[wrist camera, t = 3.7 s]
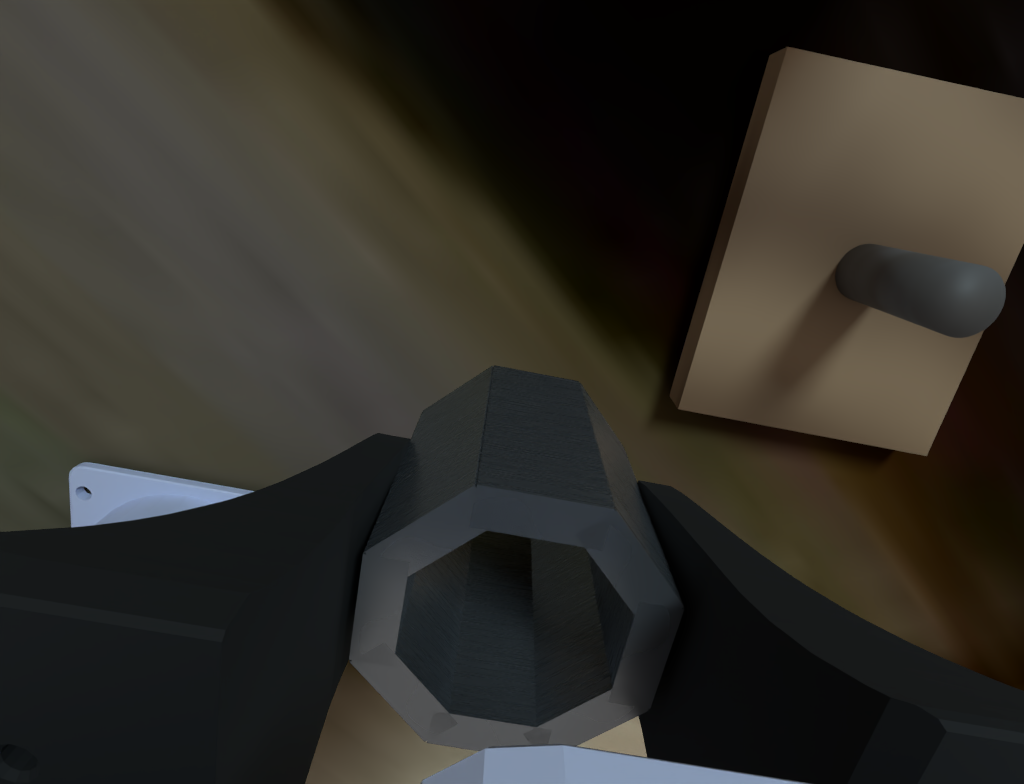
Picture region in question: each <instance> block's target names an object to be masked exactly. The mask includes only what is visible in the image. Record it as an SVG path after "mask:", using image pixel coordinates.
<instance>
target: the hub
mask: <svg viewBox="0 0 1024 784" xmlns="http://www.w3.org/2000/svg"><path fill="white" fill-rule="evenodd" d="M683 612H684V605H683V603H682V600H681V597H680V595H679V592H678V589H677V587H676V584H675V581H674V579H673V576H672V573H671V571H670V568H669V565H668V563H667V560H666V558H665V555H664V552H663V550H662V547H661V544H660V542H659V539H658V536H657V534H656V531H655V528H654V526H653V523H652V520H651V518H650V515H649V513H648V510H647V507H646V505H645V502H644V499H643V497H642V494H641V491H640V489H639V486H638V484H637V481H636V478H635V475H634V473H633V470H632V467H631V465H630V462H629V460H628V457H627V454H626V452H625V449H624V447H623V445H622V444H621V442H620V441H619V439H618V438H617V436H616V435H615V433H614V432H613V431H612V429H611V428H610V426H609V425H608V423H607V422H606V420H605V419H604V417H603V416H602V414H601V413H600V411H599V410H598V408H597V407H596V405H595V404H594V402H593V401H592V399H591V398H590V396H589V395H588V393H587V392H586V390H585V389H584V387H583V386H582V384H581V383H579V381H574V380H569V379H564V378H558V377H553V376H548V375H543V374H537V373H532V372H527V371H521V370H516V369H511V368H505V367H500V366H495V365H494V367H493V366H491V367H490V368H488V369H486V370H485V371H483V372H482V373H480V374H479V375H477V376H476V377H474V378H473V379H471V380H469V381H468V382H466V383H465V384H463V385H462V386H460V387H459V388H457V389H456V390H454V391H453V392H451V393H449V394H448V395H446V396H445V397H443V398H442V399H440V400H439V401H437V402H436V403H434V404H432V405H431V406H429V407H428V408H426V409H425V410H423V412H422V414H421V416H420V418H419V421H418V423H417V426H416V428H415V430H414V433H413V435H412V438H411V440H410V444H409V446H408V449H407V451H406V454H405V456H404V458H403V461H402V463H401V466H400V468H399V470H398V472H397V474H396V476H395V478H394V481H393V483H392V485H391V488H390V490H389V493H388V495H387V497H386V500H385V502H384V505H383V507H382V509H381V512H380V514H379V517H378V519H377V521H376V524H375V526H374V529H373V531H372V533H371V536H370V538H369V541H368V543H367V545H366V548H365V550H364V552H363V557H362V564H361V572H360V579H359V587H358V594H357V602H356V609H355V617H354V624H353V632H352V639H351V647H350V655H349V660H350V663H351V664H352V665H353V666H354V667H355V668H356V669H357V670H358V671H359V673H360V674H361V675H362V676H363V677H364V678H365V679H366V680H367V681H368V682H369V683H370V684H371V685H372V686H373V687H374V689H375V690H376V691H377V692H378V693H379V694H380V695H381V696H382V697H383V698H384V699H385V700H386V701H387V702H388V703H389V704H390V706H391V707H392V708H393V709H394V710H395V711H396V712H397V713H398V714H399V715H400V716H401V717H402V718H403V719H404V720H405V722H406V723H407V724H408V725H409V726H410V727H411V728H412V729H413V730H414V731H415V732H416V733H417V734H418V735H419V736H420V737H421V739H422V740H423V741H424V742H425V741H427V743H431V744H437V745H444V746H450V747H456V748H463V749H469V750H475V751H481V750H483V749H485V748H488V747H491V746H511V745H535V744H565V745H572V746H577V745H579V744H581V743H583V742H585V741H588V740H590V739H592V738H594V737H596V736H598V735H600V734H602V733H604V732H606V731H608V730H610V729H612V728H614V727H616V726H618V725H620V724H622V723H624V722H626V721H628V720H631V719H633V718H635V717H637V716H639V715H641V714H643V713H645V712H647V711H649V710H648V709H650V708H651V705H652V702H653V699H654V696H655V693H656V691H657V688H658V685H659V682H660V679H661V676H662V673H663V670H664V667H665V664H666V662H667V659H668V656H669V653H670V650H671V647H672V644H673V641H674V638H675V635H676V632H677V630H678V627H679V624H680V621H681V618H682V615H683Z"/></svg>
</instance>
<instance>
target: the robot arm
mask: <svg viewBox="0 0 1024 784" xmlns="http://www.w3.org/2000/svg"><path fill="white" fill-rule="evenodd" d="M410 440H411V439H407V438H402V437H396V436H391V435H385V434H380V433H377V434H375V435H373V436H371V437H369V438H367V439H365V440H363V441H362V442H360V443H358V444H356V445H354V446H353V447H351V448H349V449H347V450H345V451H344V452H342V453H340V454H338V455H336V456H334V457H332V458H330V459H329V460H327V461H325V462H323V463H321V464H319V465H317V466H314V467H312V468H310V469H308V470H306V471H303V472H301V473H299V474H297V475H295V476H292V477H290V478H288V479H286V480H284V481H281V482H279V483H276V484H274V485H271V486H268V487H266V488H263V489H260V490H257V491H250V490H244V489H238V488H233V487H227V486H221V485H216V484H210V483H204V482H198V481H193V480H187V479H181V478H176V477H170V476H164V475H159V474H153V473H147V472H141V471H136V470H130V469H124V468H119V467H113V466H107V465H101V464H96V463H90V462H83V463H81V464H79V465H77V466H76V467H74V468H73V469H72V470H71V471H70V473H69V491H70V512H71V527H70V528H55V529H41V530H26V531H11V532H0V784H305V781H306V778H307V775H308V772H309V769H310V765H311V762H312V759H313V756H314V753H315V750H316V747H317V744H318V740H319V737H320V734H321V731H322V728H323V725H324V722H325V719H326V715H327V712H328V709H329V706H330V704H331V701H332V698H333V696H334V693H335V691H336V688H337V685H338V683H339V680H340V678H341V676H342V673H343V671H344V669H345V667H346V664H347V662H348V660H349V655H350V647H351V639H352V632H353V624H354V617H355V609H356V602H357V594H358V587H359V579H360V572H361V564H362V557H363V552H364V550H365V548H366V545H367V543H368V541H369V538H370V536H371V533H372V531H373V529H374V526H375V524H376V521H377V519H378V517H379V514H380V512H381V509H382V507H383V505H384V502H385V500H386V497H387V495H388V493H389V490H390V488H391V485H392V483H393V481H394V478H395V476H396V474H397V472H398V470H399V468H400V466H401V463H402V461H403V458H404V456H405V454H406V451H407V449H408V446H409V444H410ZM637 484H638V486H639V489H640V491H641V494H642V497H643V499H644V502H645V505H646V507H647V510H648V513H649V515H650V518H651V520H652V523H653V526H654V528H655V531H656V534H657V536H658V539H659V542H660V544H661V547H662V550H663V552H664V555H665V558H666V560H667V563H668V565H669V568H670V571H671V573H672V576H673V579H674V581H675V584H676V587H677V589H678V592H679V595H680V597H681V600H682V603H683V605H684V612H683V615H682V618H681V621H680V624H679V627H678V630H677V632H676V635H675V638H674V641H673V644H672V647H671V650H670V653H669V656H668V659H667V662H666V664H665V667H664V670H663V673H662V676H661V679H660V682H659V685H658V688H657V691H656V693H655V696H654V699H653V702H652V705H651V708H650V709H648V710H649V711H647V712H645V713H643V714H641V715H639V719H640V723H641V728H642V732H643V737H644V742H645V747H646V753H647V757H641V756H635V755H628V754H622V753H616V752H609V751H603V750H597V749H591V748H584V747H578V746H572V745H565V744H535V745H511V746H491V747H488V748H485V749H483V750H481V751H479V752H477V753H475V754H473V755H471V756H469V757H467V758H465V759H463V760H461V761H460V762H458V763H456V764H454V765H452V766H450V767H448V768H446V769H444V770H442V771H440V772H438V773H436V774H434V775H432V776H430V777H428V778H426V779H424V780H422V782H421V784H1024V691H1022V690H1019V689H1016V688H1014V687H1011V686H1008V685H1005V684H1003V683H1000V682H998V681H995V680H993V679H991V678H988V677H986V676H984V675H981V674H979V673H977V672H974V671H972V670H969V669H967V668H965V667H962V666H960V665H958V664H955V663H953V662H951V661H948V660H946V659H944V658H941V657H939V656H937V655H935V654H933V653H931V652H928V651H926V650H924V649H922V648H920V647H918V646H915V645H913V644H911V643H909V642H907V641H905V640H903V639H901V638H899V637H897V636H895V635H893V634H891V633H889V632H887V631H886V630H884V629H882V628H880V627H878V626H876V625H874V624H872V623H870V622H868V621H866V620H864V619H862V618H861V617H859V616H857V615H855V614H853V613H851V612H850V611H848V610H846V609H844V608H842V607H841V606H839V605H838V604H836V603H834V602H833V601H831V600H829V599H828V598H826V597H824V596H823V595H821V594H819V593H818V592H816V591H814V590H813V589H811V588H809V587H808V586H806V585H805V584H803V583H802V582H800V581H799V580H797V579H795V578H794V577H792V576H791V575H789V574H788V573H787V572H785V571H784V570H782V569H781V568H779V567H778V566H777V565H775V564H774V563H772V562H771V561H770V560H768V559H767V558H765V557H764V556H763V555H761V554H760V553H758V552H757V551H756V550H754V549H753V548H752V547H750V546H749V545H748V544H746V543H745V542H744V541H743V540H741V539H740V538H739V537H737V536H736V535H735V534H734V533H732V532H731V531H730V530H728V529H727V528H726V527H725V526H723V525H722V524H721V523H720V522H718V521H717V520H716V519H715V518H713V517H712V516H711V515H710V514H708V513H707V512H706V511H705V510H703V509H702V508H701V507H700V506H698V505H697V504H696V503H694V502H693V501H692V500H690V499H689V498H688V497H687V496H685V495H684V494H682V493H681V492H679V491H678V490H676V489H674V488H673V487H671V486H666V485H661V484H655V483H650V482H644V481H639V480H638V483H637ZM83 486H84V487H86V488H88V489H89V490H90V491H91V494H92V495H91V494H89V493H87V492H86V491H85V490H84V487H83Z"/></svg>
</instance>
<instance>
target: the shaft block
mask: <svg viewBox="0 0 1024 784" xmlns="http://www.w3.org/2000/svg"><path fill="white" fill-rule="evenodd" d="M1023 243H1024V99H1023V98H1018V97H1014V96H1009V95H1005V94H1000V93H996V92H991V91H986V90H982V89H977V88H973V87H968V86H964V85H959V84H955V83H950V82H946V81H941V80H937V79H932V78H927V77H923V76H918V75H914V74H909V73H905V72H900V71H896V70H891V69H887V68H882V67H877V66H873V65H868V64H864V63H859V62H855V61H850V60H846V59H841V58H837V57H832V56H828V55H823V54H818V53H814V52H809V51H805V50H800V49H796V48H791V47H786V48H784V49H782V50H780V51H777V52H775V53H773V54H771V55H770V56H769V59H768V62H767V66H766V69H765V73H764V76H763V79H762V83H761V86H760V90H759V93H758V96H757V100H756V103H755V107H754V110H753V113H752V117H751V120H750V123H749V127H748V130H747V134H746V137H745V140H744V144H743V147H742V151H741V154H740V157H739V161H738V164H737V168H736V171H735V174H734V178H733V181H732V185H731V188H730V191H729V195H728V198H727V202H726V205H725V208H724V212H723V215H722V218H721V222H720V225H719V229H718V232H717V235H716V239H715V242H714V246H713V249H712V252H711V256H710V259H709V263H708V266H707V269H706V273H705V276H704V280H703V283H702V286H701V290H700V293H699V297H698V300H697V303H696V307H695V310H694V314H693V317H692V320H691V324H690V327H689V330H688V334H687V337H686V341H685V344H684V347H683V351H682V354H681V358H680V361H679V364H678V368H677V371H676V375H675V378H674V381H673V385H672V388H671V392H670V395H669V396H670V398H671V399H672V401H673V402H674V404H675V405H676V407H677V408H678V409H680V410H685V411H690V412H696V413H701V414H706V415H712V416H717V417H722V418H728V419H733V420H738V421H744V422H749V423H754V424H759V425H765V426H770V427H775V428H781V429H786V430H791V431H797V432H802V433H807V434H813V435H818V436H823V437H829V438H834V439H839V440H844V441H850V442H855V443H860V444H866V445H871V446H876V447H882V448H887V449H892V450H898V451H903V452H908V453H914V454H919V455H924V456H927V454H928V452H929V449H930V447H931V445H932V443H933V441H934V438H935V436H936V434H937V432H938V430H939V427H940V425H941V423H942V421H943V419H944V417H945V414H946V412H947V410H948V408H949V406H950V403H951V401H952V399H953V397H954V395H955V392H956V390H957V388H958V386H959V384H960V381H961V379H962V377H963V375H964V373H965V370H966V368H967V366H968V364H969V362H970V360H971V357H972V355H973V353H974V351H975V349H976V346H977V344H978V342H979V340H980V338H981V335H982V333H983V331H984V329H986V328H987V327H988V326H990V325H991V324H992V323H993V322H994V320H995V319H996V318H997V317H998V315H999V314H1000V312H1001V310H1002V308H1003V305H1004V302H1005V296H1006V290H1005V283H1006V281H1007V278H1008V276H1009V274H1010V272H1011V270H1012V267H1013V265H1014V263H1015V261H1016V259H1017V256H1018V254H1019V252H1020V250H1021V248H1022V246H1023Z"/></svg>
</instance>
